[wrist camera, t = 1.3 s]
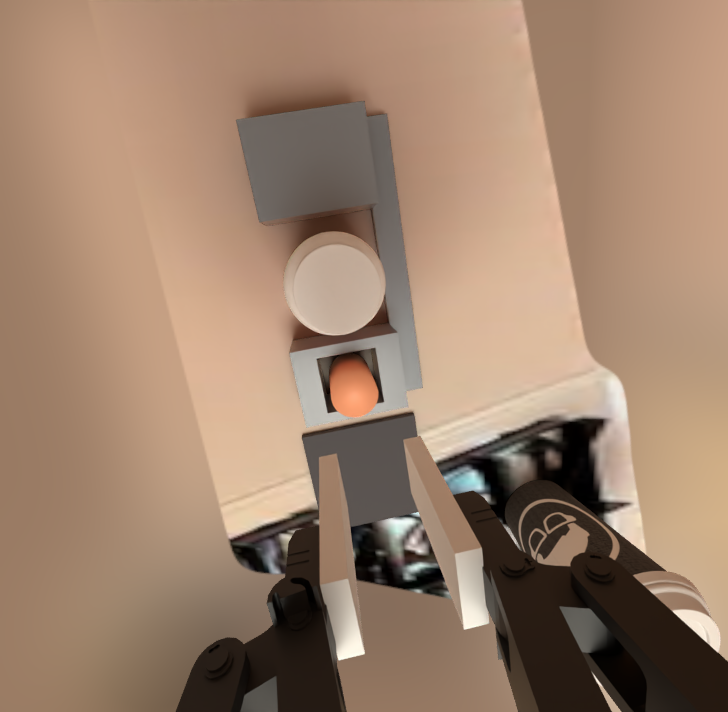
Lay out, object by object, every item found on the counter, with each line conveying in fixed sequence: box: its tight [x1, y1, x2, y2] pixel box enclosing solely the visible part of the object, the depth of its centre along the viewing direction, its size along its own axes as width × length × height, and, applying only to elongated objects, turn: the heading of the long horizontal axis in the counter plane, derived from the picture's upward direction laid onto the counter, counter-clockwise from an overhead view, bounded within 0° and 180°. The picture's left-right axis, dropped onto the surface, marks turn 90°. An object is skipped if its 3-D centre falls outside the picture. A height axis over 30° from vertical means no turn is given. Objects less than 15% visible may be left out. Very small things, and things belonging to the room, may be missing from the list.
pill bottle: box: [283, 231, 386, 335], centre depth 25 cm, size 6×6×11 cm
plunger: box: [329, 354, 378, 417], centre depth 28 cm, size 3×3×5 cm
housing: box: [236, 101, 423, 428], centre depth 29 cm, size 21×10×4 cm, turn 9°
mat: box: [302, 413, 418, 527], centre depth 35 cm, size 10×10×1 cm
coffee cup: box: [505, 480, 720, 687], centre depth 32 cm, size 10×10×15 cm
